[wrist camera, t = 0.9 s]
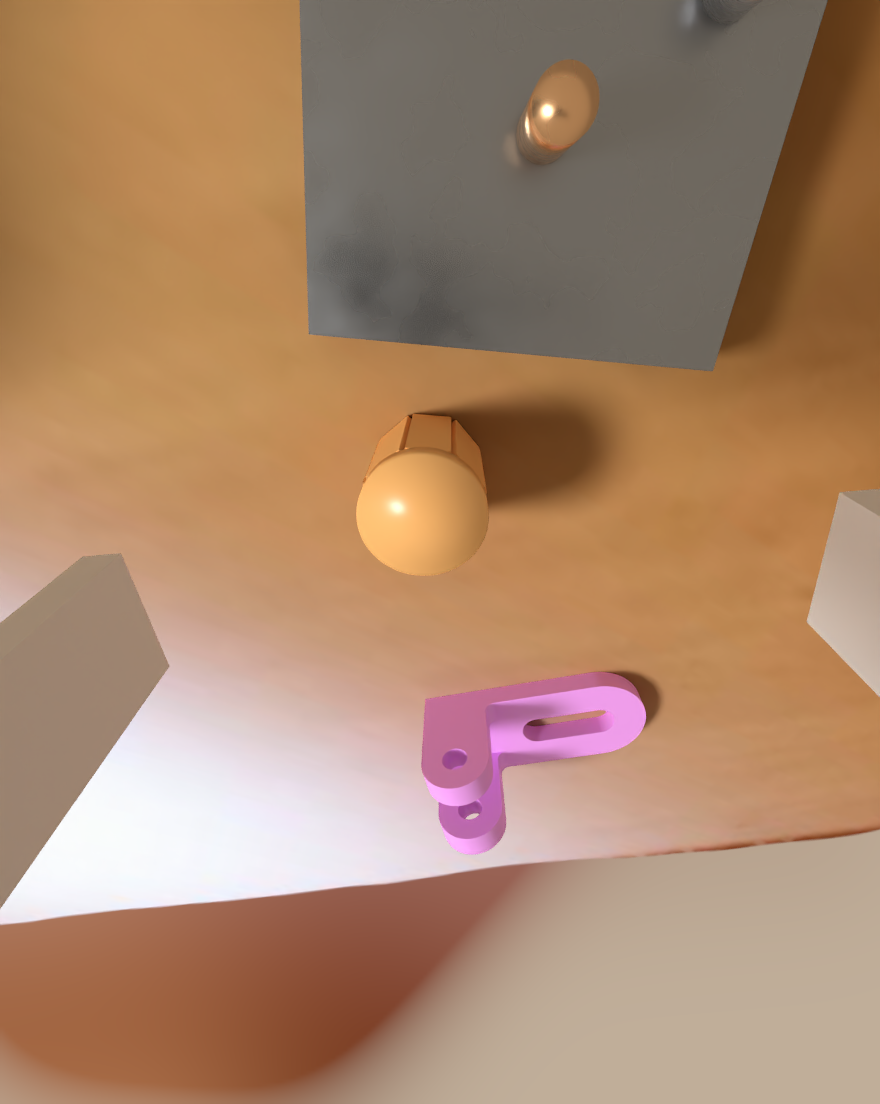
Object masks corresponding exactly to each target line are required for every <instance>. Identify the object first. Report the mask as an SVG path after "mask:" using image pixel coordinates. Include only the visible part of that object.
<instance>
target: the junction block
mask: <svg viewBox="0 0 880 1104" xmlns="http://www.w3.org/2000/svg"><path fill="white" fill-rule="evenodd" d="M827 1H828V0H300V31H301V67H302V103H303V140H304V176H305V212H306V248H307V284H308V320H309V334H311V335H322V336H333V337H344V338H355V339H366V340H377V341H388V342H399V343H410V344H421V345H431V346H442V347H453V348H464V349H475V350H486V351H497V352H508V353H519V354H530V355H541V356H552V357H562V358H573V359H584V360H595V361H606V362H617V363H628V364H639V365H650V366H661V367H672V368H683V369H693V370H704V371H713V369H714V366H715V363H716V359H717V356H718V353H719V350H720V346H721V343H722V340H723V337H724V334H725V330H726V327H727V324H728V321H729V317H730V314H731V311H732V308H733V304H734V301H735V298H736V295H737V292H738V288H739V285H740V282H741V279H742V275H743V272H744V269H745V266H746V262H747V259H748V256H749V253H750V249H751V246H752V243H753V240H754V237H755V233H756V230H757V227H758V224H759V220H760V217H761V214H762V211H763V207H764V204H765V201H766V198H767V195H768V191H769V188H770V185H771V182H772V178H773V175H774V172H775V169H776V165H777V162H778V159H779V156H780V153H781V149H782V146H783V143H784V140H785V136H786V133H787V130H788V127H789V123H790V120H791V117H792V114H793V111H794V107H795V104H796V101H797V98H798V94H799V91H800V88H801V85H802V81H803V78H804V75H805V72H806V69H807V65H808V62H809V59H810V56H811V52H812V49H813V46H814V43H815V39H816V36H817V33H818V30H819V27H820V23H821V20H822V17H823V14H824V10H825V7H826V4H827Z"/></svg>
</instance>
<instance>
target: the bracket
mask: <svg viewBox="0 0 880 1104" xmlns="http://www.w3.org/2000/svg"><path fill="white" fill-rule="evenodd" d="M596 710H605V711H607V712H606V713H605V714H603V715H601V716H599V717H594V718H587V719H581V720H574V721H567V722H561V723H554V724H548V725H541V726H529V725H526V724H527V723H528V722H530V721H532V720H537V719H543V718H550V717H556V716H563V715H570V714H576V713H583V712H589V711H596ZM645 721H646V711H645V708H644V705H643V703H642V701H641V698H640V696H639V694H638V691H637V689H636V688H635V686H634V685H633V684H632V683H631V682H630V681H628V680H627V679H625V678H624V677H622V676H619V675H617V674H613V673H608V672H592V673H585V674H579V675H573V676H567V677H560V678H554V679H548V680H542V681H535V682H529V683H523V684H517V685H511V686H504V687H498V688H492V689H486V690H480V691H473V692H467V693H461V694H455V695H448V696H442V697H436V698H430V699H425V713H424V730H423V746H422V763H421V767H422V772H423V775H424V778H425V780H426V783H427V786H428V789H429V791H430V793H431V795H432V796H433V797H434V798H435V799H436V800H437V801H438V802H439V820H440V823H441V826H442V829H443V831H444V834H445V837H446V839H447V841H448V843H449V844H450V845H451V846H452V847H453V848H454V849H455V850H457V851H459V852H461V853H464V854H480V853H483V852H486V851H488V850H490V849H491V848H493V847H494V846H495V845H496V844H497V843H498V842H499V841H500V839H501V838H502V836H503V834H504V832H505V828H506V815H505V804H504V794H503V783H502V771H503V770H504V769H505V768H506V767H509V766H516V765H523V764H530V763H537V762H544V761H551V760H558V759H565V758H572V757H579V756H586V755H593V754H600V753H607V752H611V751H614V750H617V749H620V748H622V747H624V746H626V745H627V744H629V743H630V742H632V741H633V740H634V739H635V738H636V737H637V736H638V735H639V734H640V732H641V731H642V729H643V727H644V725H645ZM473 813H479V816H477V817H476V818H474V819H471V820H466V819H465V818H466V817H467V816H469V815H470V814H473Z"/></svg>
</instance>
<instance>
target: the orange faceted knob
mask: <svg viewBox="0 0 880 1104" xmlns="http://www.w3.org/2000/svg"><path fill="white" fill-rule="evenodd" d="M356 518H357V525H358V530H359V532H360V535H361V538H362V540H363V541H364V543H365V545H366V546H367V548H368V549H369V550H370V552H371V553H372V554H373V555H374V556H375V557H376V558H377V559H379V560H380V561H381V562H382V563H384V564H385V565H387V566H389V567H391V568H393V569H394V570H397V571H400V572H402V573H406V574H411V575H418V576H429V575H437V574H442V573H445V572H448V571H451V570H453V569H455V568H457V567H459V566H461V565H462V564H464V563H465V562H466V561H468V560H469V559H470V558H471V557H472V556H473V555H474V554H475V553H476V551H477V550H478V549H479V547H480V546H481V544H482V542H483V540H484V538H485V535H486V532H487V528H488V521H489V513H488V504H487V489H486V483H485V476H484V470H483V463H482V456H481V453H480V448H479V447H478V445H477V444H476V443H475V442H474V441H473V439H472V438H471V437H470V436H469V435H468V433H467V432H466V431H465V430H464V429H463V427H462V426H461V425H460V424H459V423H458V421H457V420H454V421H453V422H452V423H451V417H446V416H435V415H424V414H413V416H412V419H411V418H410V417H409V416H406V417H405V418H404V419H403V420H402V421H401V422H399V423H398V424H397V425H396V426H395V427H394V428H392V429H391V430H390V431H389V432H388V433H387V434H385V435H384V436H383V437H382V438H381V439H380V441H379V443H378V445H377V447H376V450H375V453H374V455H373V458H372V460H371V463H370V465H369V468H368V471H367V473H366V476H365V478H364V481H363V488H362V490H361V493H360V496H359V498H358V503H357V510H356Z"/></svg>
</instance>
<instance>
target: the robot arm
mask: <svg viewBox="0 0 880 1104" xmlns="http://www.w3.org/2000/svg"><path fill="white" fill-rule="evenodd" d="M807 623H808V624H809V625H810V626H811V627H812V628H813V629H814V630H815V631H816V632H817V633H818V634H819V635H820V636H821V637H822V638H823V639H824V640H825V641H826V642H827V643H828V644H829V645H830V646H831V647H832V648H833V649H834V650H835V652H836V653H837V654H838V655H839V656H840V657H841V658H842V659H843V660H844V661H845V662H846V663H847V664H848V665H849V666H850V667H851V668H852V669H853V670H854V671H855V672H856V673H857V674H858V675H859V676H860V677H861V678H862V679H863V680H864V681H865V682H866V684H867V685H868V686H869V687H870V688H871V689H872V690H873V691H874V692H875V693H876V694H877V695H878V696H879V697H880V489H874V490H862V491H850V492H840V493H839V497H838V501H837V505H836V509H835V513H834V517H833V521H832V525H831V529H830V533H829V537H828V541H827V544H826V548H825V552H824V556H823V560H822V564H821V568H820V572H819V576H818V580H817V584H816V588H815V592H814V595H813V599H812V603H811V607H810V611H809V615H808V619H807ZM168 667H169V664H168V662H167V660H166V657H165V655H164V653H163V650H162V648H161V646H160V643H159V641H158V639H157V636H156V634H155V632H154V629H153V627H152V625H151V622H150V620H149V618H148V615H147V613H146V611H145V608H144V606H143V604H142V601H141V599H140V597H139V594H138V592H137V590H136V587H135V585H134V583H133V580H132V578H131V576H130V573H129V571H128V569H127V566H126V564H125V562H124V559H123V557H122V555H121V553H120V554H108V555H96V556H84V557H82V558H81V559H79V560H78V561H77V562H76V563H74V564H73V565H72V566H71V567H69V568H68V569H67V570H66V571H64V572H63V573H62V574H61V575H59V576H58V577H57V578H56V579H54V580H53V581H52V582H51V583H49V584H48V585H47V586H46V587H45V588H43V589H42V590H41V591H40V592H38V593H37V594H36V595H35V596H33V597H32V598H31V599H30V600H28V601H27V602H26V603H25V604H23V605H22V606H21V607H20V608H18V609H17V610H16V611H15V612H13V613H12V614H11V615H10V616H9V617H7V618H6V619H5V620H4V621H2V622H1V623H0V908H1V907H2V906H3V904H4V903H5V901H6V900H7V898H8V897H9V896H10V894H11V893H12V891H13V890H14V888H15V887H16V885H17V884H18V883H19V881H20V880H21V878H22V877H23V875H24V874H25V873H26V871H27V870H28V868H29V867H30V865H31V864H32V863H33V861H34V860H35V858H36V857H37V855H38V854H39V852H40V851H41V850H42V848H43V847H44V845H45V844H46V842H47V841H48V840H49V838H50V837H51V835H52V834H53V832H54V831H55V830H56V828H57V827H58V825H59V824H60V822H61V821H62V819H63V818H64V817H65V815H66V814H67V812H68V811H69V809H70V808H71V807H72V805H73V804H74V802H75V801H76V799H77V798H78V797H79V795H80V794H81V792H82V791H83V789H84V788H85V786H86V785H87V784H88V782H89V781H90V779H91V778H92V776H93V775H94V774H95V772H96V771H97V769H98V768H99V766H100V765H101V764H102V762H103V761H104V759H105V758H106V756H107V755H108V753H109V752H110V751H111V749H112V748H113V746H114V745H115V743H116V742H117V741H118V739H119V738H120V736H121V735H122V733H123V732H124V731H125V729H126V728H127V726H128V725H129V723H130V722H131V721H132V719H133V718H134V716H135V715H136V713H137V712H138V710H139V709H140V708H141V706H142V705H143V703H144V702H145V700H146V699H147V698H148V696H149V695H150V693H151V692H152V690H153V689H154V688H155V686H156V685H157V683H158V682H159V680H160V679H161V677H162V676H163V675H164V673H165V672H166V670H167V669H168Z"/></svg>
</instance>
